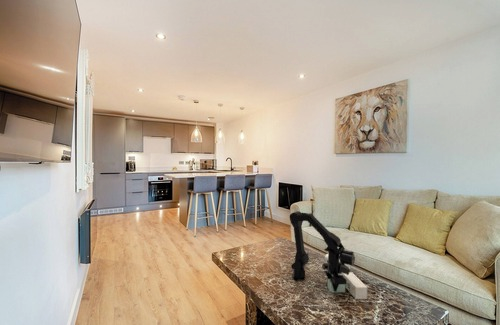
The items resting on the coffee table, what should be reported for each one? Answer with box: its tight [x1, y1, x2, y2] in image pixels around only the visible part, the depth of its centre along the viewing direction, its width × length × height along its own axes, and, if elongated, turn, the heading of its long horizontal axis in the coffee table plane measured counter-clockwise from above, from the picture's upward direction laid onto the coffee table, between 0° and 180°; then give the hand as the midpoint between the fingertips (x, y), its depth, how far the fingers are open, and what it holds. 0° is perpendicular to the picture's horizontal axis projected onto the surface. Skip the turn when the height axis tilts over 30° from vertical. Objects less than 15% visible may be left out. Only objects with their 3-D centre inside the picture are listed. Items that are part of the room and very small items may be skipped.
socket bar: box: [342, 271, 368, 300], centre depth 125 cm, size 6×16×6 cm, turn 2°
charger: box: [327, 278, 349, 293], centre depth 125 cm, size 10×4×5 cm, turn 92°
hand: (333, 288), depth 125 cm, fingers closed on charger, 4 cm apart
